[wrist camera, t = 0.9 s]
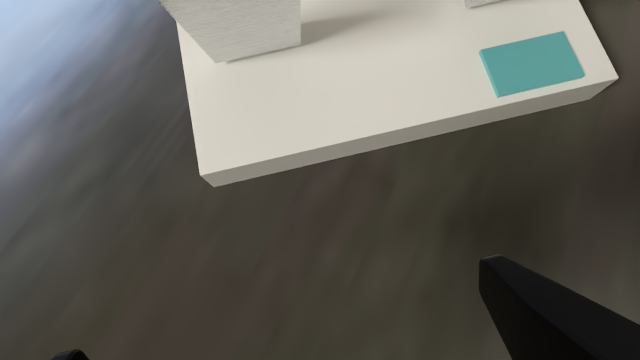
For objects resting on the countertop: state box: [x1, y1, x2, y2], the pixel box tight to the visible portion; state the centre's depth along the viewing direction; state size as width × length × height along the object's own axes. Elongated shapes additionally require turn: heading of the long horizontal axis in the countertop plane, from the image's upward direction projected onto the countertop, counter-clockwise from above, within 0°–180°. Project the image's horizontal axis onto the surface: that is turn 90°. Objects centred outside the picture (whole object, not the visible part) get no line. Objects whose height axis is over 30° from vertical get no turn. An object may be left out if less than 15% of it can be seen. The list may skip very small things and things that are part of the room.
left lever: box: [158, 0, 301, 64], centre depth 17 cm, size 2×5×10 cm, turn 102°
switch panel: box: [176, 0, 619, 187], centre depth 24 cm, size 14×24×3 cm, turn 103°
